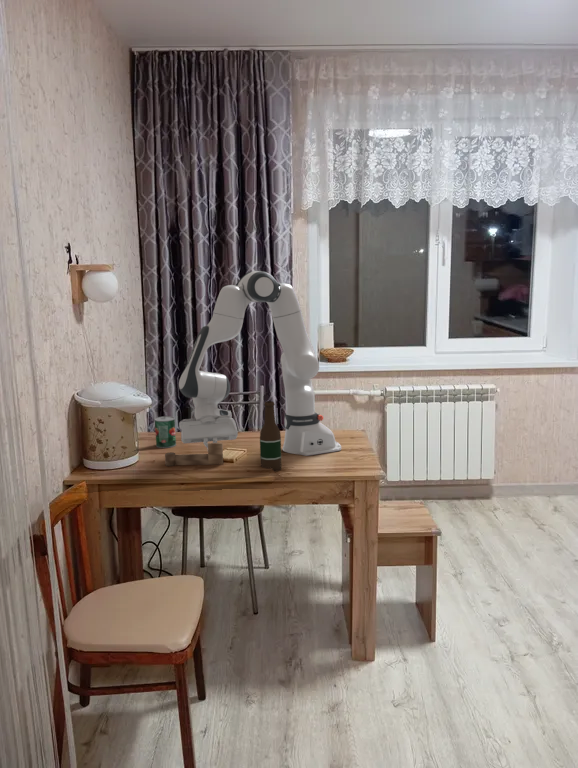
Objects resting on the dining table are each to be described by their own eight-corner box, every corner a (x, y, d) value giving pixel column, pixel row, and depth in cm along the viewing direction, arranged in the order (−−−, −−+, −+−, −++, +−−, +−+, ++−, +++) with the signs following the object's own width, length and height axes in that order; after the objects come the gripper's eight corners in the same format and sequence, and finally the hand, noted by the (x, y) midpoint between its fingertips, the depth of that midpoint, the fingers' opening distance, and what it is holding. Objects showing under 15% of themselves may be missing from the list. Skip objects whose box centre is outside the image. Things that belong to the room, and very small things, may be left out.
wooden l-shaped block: (224, 457, 248) (224, 437, 246) (222, 465, 239) (221, 444, 238) (169, 459, 248) (168, 439, 247) (164, 466, 239) (163, 445, 238)
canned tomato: (178, 446, 270) (177, 419, 268) (159, 449, 267) (157, 421, 265) (172, 441, 277) (171, 415, 275) (153, 444, 274) (152, 417, 272)
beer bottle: (256, 467, 240) (254, 400, 236) (277, 464, 243) (275, 398, 239) (264, 473, 233) (262, 405, 229) (285, 470, 236) (284, 402, 232)
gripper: (178, 415, 244) (182, 448, 237) (235, 411, 249) (240, 443, 241) (178, 424, 250) (181, 457, 242) (233, 420, 254) (238, 452, 246)
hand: (211, 450), depth 242 cm, fingers closed
